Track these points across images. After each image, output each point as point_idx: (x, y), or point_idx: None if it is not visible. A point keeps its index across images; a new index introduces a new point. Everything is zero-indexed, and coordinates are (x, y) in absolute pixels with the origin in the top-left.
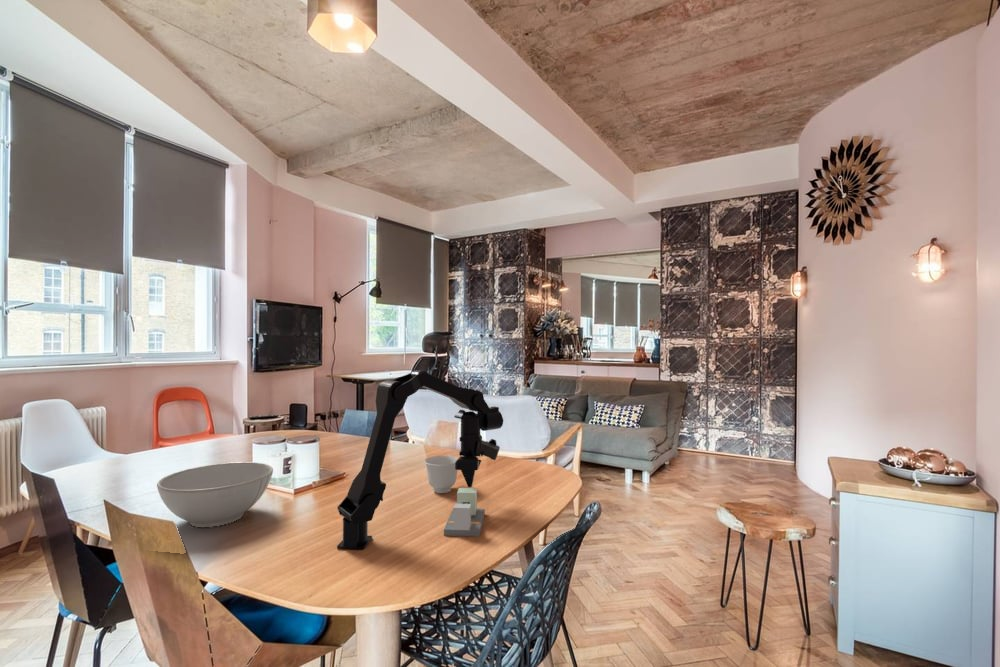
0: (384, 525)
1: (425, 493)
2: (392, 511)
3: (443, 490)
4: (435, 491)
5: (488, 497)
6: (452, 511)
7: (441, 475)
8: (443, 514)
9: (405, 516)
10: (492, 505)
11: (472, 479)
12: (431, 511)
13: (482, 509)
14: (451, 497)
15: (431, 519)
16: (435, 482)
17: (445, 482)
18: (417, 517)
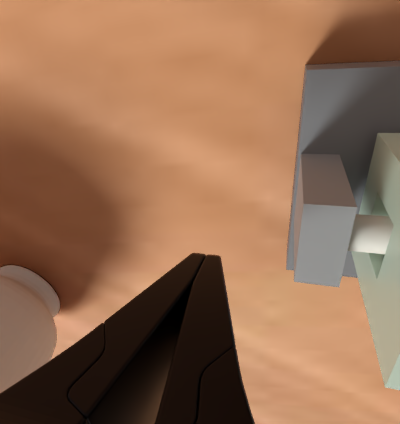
0: None
1: (80, 337)
2: (267, 417)
3: (45, 296)
4: (56, 314)
5: (9, 78)
6: (346, 273)
7: (18, 374)
8: (301, 288)
9: (318, 395)
10: (129, 26)
11: (230, 318)
12: (263, 327)
13: (324, 87)
14: (85, 260)
15: (365, 330)
16: (48, 356)
17: (30, 325)
18: (333, 368)
